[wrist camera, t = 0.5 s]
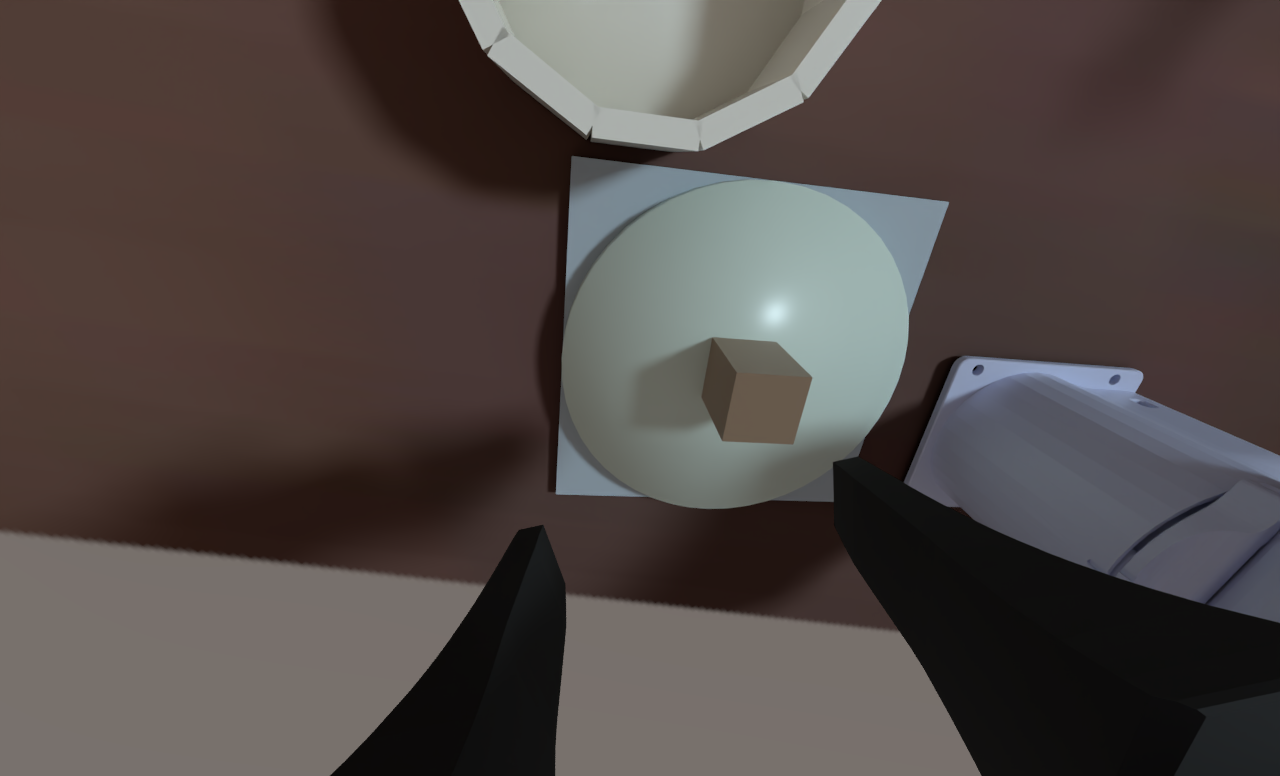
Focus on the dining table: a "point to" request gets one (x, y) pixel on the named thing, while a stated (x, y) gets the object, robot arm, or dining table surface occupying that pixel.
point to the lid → (734, 343)
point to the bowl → (666, 61)
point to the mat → (628, 190)
